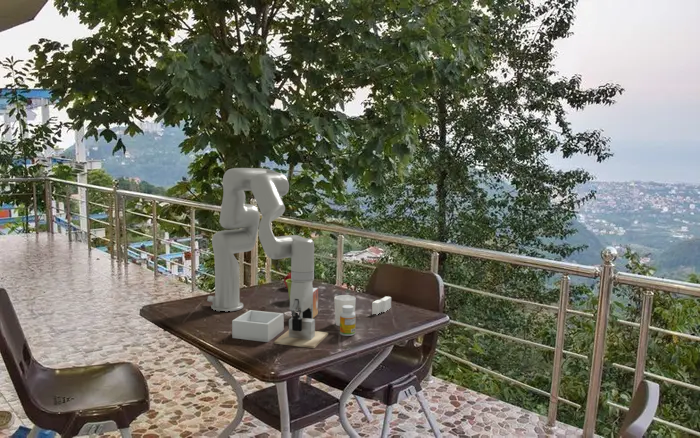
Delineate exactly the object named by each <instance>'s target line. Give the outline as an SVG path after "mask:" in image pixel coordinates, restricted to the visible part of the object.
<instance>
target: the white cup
mask: <svg viewBox="0 0 700 438" xmlns="http://www.w3.org/2000/svg"><path fill="white" fill-rule="evenodd" d="M356 302H357V299H356V296H354V295H348V294H341V295H336V296H334V302H333V303H334V317H335V318H334V319H335V320H334V321H335V322H334V323H335V325H336V326H338V327H340V314H341V312H343V311H342V306H344V305H352V306H354V311H353V312H354V313H355V314H356Z"/></svg>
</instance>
